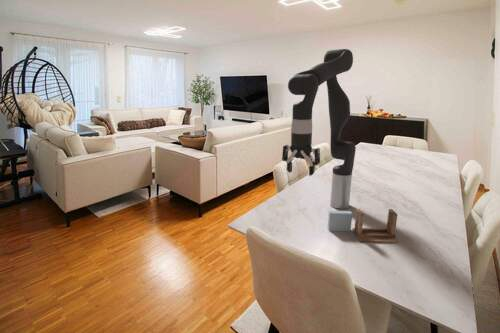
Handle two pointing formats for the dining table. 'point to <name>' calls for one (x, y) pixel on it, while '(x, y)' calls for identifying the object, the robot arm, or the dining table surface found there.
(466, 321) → the dining table surface
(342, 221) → the door panel
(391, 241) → the frame
